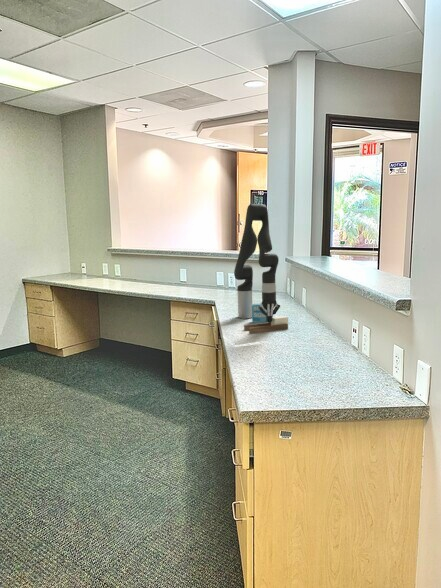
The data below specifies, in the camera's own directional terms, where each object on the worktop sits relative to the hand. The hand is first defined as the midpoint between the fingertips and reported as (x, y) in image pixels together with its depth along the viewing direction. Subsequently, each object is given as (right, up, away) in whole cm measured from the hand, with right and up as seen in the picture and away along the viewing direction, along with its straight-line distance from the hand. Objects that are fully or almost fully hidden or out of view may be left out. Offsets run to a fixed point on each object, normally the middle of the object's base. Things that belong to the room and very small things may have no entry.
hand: (269, 322), depth 230 cm
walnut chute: (-2, -5, 0) cm, 5 cm away
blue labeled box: (-2, -2, +19) cm, 19 cm away
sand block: (+6, -3, +2) cm, 7 cm away
